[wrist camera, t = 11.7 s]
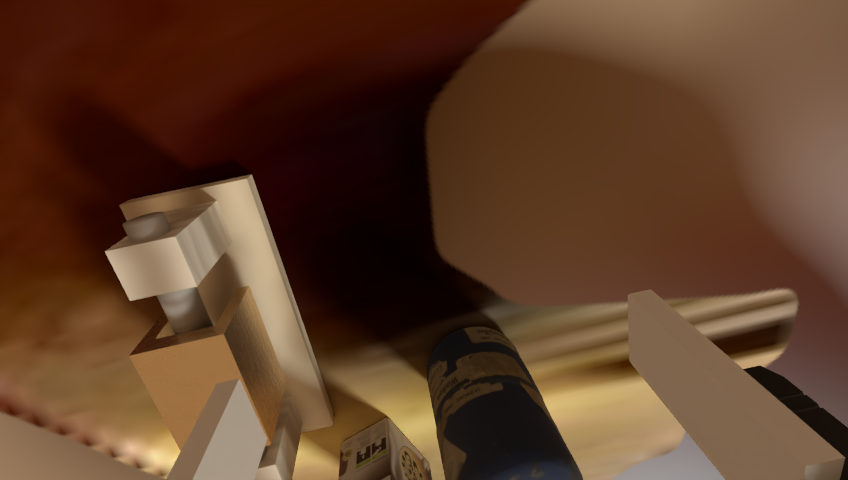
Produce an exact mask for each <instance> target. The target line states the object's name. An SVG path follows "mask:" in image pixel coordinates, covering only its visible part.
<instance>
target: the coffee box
mask: <svg viewBox="0 0 848 480" xmlns="http://www.w3.org/2000/svg"><path fill="white" fill-rule="evenodd" d="M338 480H432V477H431V470H430V464H429V463H428V462H427V460H426V459H425V458H424V457H423V456H422V455H421V454H420V452H419V451H418V450H417V449H416V448H415V447H414V446H413V445H412V444H411V443H410V441H409V440H408V439H407V438H406V437H405V436H404V435H403V434H402V432H401V431H400V430H399V429H398V428H397V427H396V426H395V425H394V424H393V422H392V421H391V420H390V419H389V418H385V419H383V420H381V421H379V422H377V423H376V424H374V425H372V426H370V427H368V428H367V429H365V430H363V431H361V432H359V433H358V434H356V435H354V436H352V437H351V438H349V439H347V440H345V441H343V442H342V444H341V454H340V468H339V479H338Z"/></svg>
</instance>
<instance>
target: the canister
mask: <svg viewBox="0 0 848 480" xmlns="http://www.w3.org/2000/svg"><path fill="white" fill-rule="evenodd" d="M427 381H428V386H429V392H430V397H431V402H432V407H433V412H434V417H435V422H436V427H437V439H438V443H439V448H440V453H441V459H442V464H443V469H444V474H445V479H446V480H583V478H582V475H581V472H580V470H579V468H578V466H577V464H576V462H575V461H574V459H573V457H572V455H571V453H570V451H569V450H568V448H567V446H566V444H565V442H564V440H563V438H562V436H561V435H560V433H559V431H558V429H557V426H556V425H555V423H554V421H553V419H552V417H551V415H550V413H549V412H548V409H547V407H546V406H545V403H544V401H543V398H542V396H541V394H540V392H539V390H538V388H537V386H536V385H535V383H534V381H533V379H532V377H531V375H530V373H529V371H528V370H527V368H526V366H525V365H524V363H523V361H522V359H521V358H520V356H519V354H518V352H517V350H516V348H515V346H514V345H513V344H512V342H511V341H510V340H509V339H508V338H507V337H506V336H504V335H503V334H501V333H500V332H498V331H496V330H493V329H490V328H487V327H482V326H481V327H468V328H463V329H460V330H457V331H455V332H453V333H451V334H449V335H448V336H446V337H445V338H444V339H443V340H442V341H440V342H439V344H438V345H437V346H436V347H435V348H434V350H433V352H432V353H431V355H430V358H429V360H428V364H427Z"/></svg>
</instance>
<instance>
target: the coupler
mask: <svg viewBox="0 0 848 480" xmlns="http://www.w3.org/2000/svg"><path fill="white" fill-rule="evenodd" d="M129 357H130V359H131V361H132V362H133V364H134V366H135V368H136V370H137V372H138V373H139V375H140V377H141V379H142V381H143V383H144V384H145V386H146V388H147V390H148V392H149V394H150V395H151V397H152V399H153V401H154V403H155V405H156V406H157V408H158V410H159V412H160V414H161V416H162V417H163V419H164V421H165V423H166V425H167V427H168V428H169V430H170V432H171V434H172V436H173V438H174V439H175V441H176V443H177V445H178V447H179V449H180V450H182V448H183V447H184V445H185V443H186V441H187V439H188V437H189V435H190V433H191V431H192V429H193V427H194V426H195V424H196V422H197V420H198V418H199V416H200V414H201V412H202V410H203V408H204V406H205V405H206V403H207V401H208V399H209V397H210V395H211V393H212V391H213V389H214V387H215V386H216V384H217V383H220V382H225V381H230V380H234V379H240V381H241V383H242V385H243V387H244V390H245V392H246V394H247V396H248V398H249V401H250V403H251V405H252V407H253V409H254V411H255V414H256V416H257V418H258V420H259V422H260V424H261V427H262V429H263V431H264V433H265V435H266V437H267V441H266V444H265V446H268V445H271V444H272V440H273V436H274V432H275V428H276V424H277V420H278V416H279V412H280V408H281V404H282V400H283V396H284V391H285V387H286V383H287V382H286V380H285V377H284V374H283V372H282V369H281V367H280V364H279V361H278V359H277V356H276V354H275V351H274V349H273V346H272V343H271V341H270V338H269V336H268V333H267V330H266V328H265V325H264V323H263V320H262V317H261V315H260V312H259V310H258V307H257V305H256V302H255V299H254V297H253V294H252V292H251V289H250V286H245V287H241V288H237V289H236V291H235V293H234V294H233V296H232V298H231V299H230V301H229V303H228V305H227V306H226V308H225V310H224V312H223V313H222V315H221V317H220V319H219V320H218V322H217V324H216V325H215V326H210V327H206V328H202V329H197V330H193V331H188V332H184V333H180V334H175V333H174V331H173V329H172V327H171V325H170V322H169V320H168V318H167V316H166V314H165V312H164V314H163V315H162V316H161V317H160V318H159V320H158V321H157V322H156V323H155V325H154V326H153V327H152V328H151V329H150V331H149V332H148V333H147V334H146V336H145V337H144V338H143V339H142V341H141V342H140V343H139V344H138V345H137V347H136V348H135V349H134V350H133V352H132V353H131V354H130V355H129Z"/></svg>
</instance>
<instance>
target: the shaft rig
mask: <svg viewBox="0 0 848 480" xmlns="http://www.w3.org/2000/svg"><path fill="white" fill-rule="evenodd" d="M119 206H120V208H121V210H122V212H123V214H124V216H125V218H126V220H127V221H126V222H125V223H123V224H122V225H123V227H124V229H125V231H126V233H127V235H128V236H126V237H125V238H123V239H122V240H121V241H119V242H118V243H116V244H115V245H113V246H112V247H110V248H109V249H108V250H106V251H105V253H106V255H107V257H108V259H109V261H110V263H111V265H112V267H113V269H114V271H115V273H116V275H117V277H118V278H119V280H120V282H121V284H122V286H123V288H124V290H125V292H126V294H127V296H128V298H129V300H130V301H132V300H137V299H142V298H146V297H151V296H157V298H158V300H159V302H160V304H161V306H162V308H163V310H164V312H165V314H166V316H167V318H168V320H169V322H170V325H171V327H172V329H173V331H174V333H175V334H180V333H184V332H188V331H193V330H197V329H202V328H206V327H210V326H215V325H216V324H217V322H218V320H219V319H220V317H221V315H222V313H223V312H224V310H225V308H226V306H227V305H228V303H229V301H230V299H231V298H232V296H233V294H234V293H235V291H236V289H237V288H241V287H245V286H250V289H251V292H252V294H253V297H254V299H255V302H256V305H257V307H258V310H259V312H260V315H261V317H262V320H263V323H264V325H265V328H266V330H267V333H268V336H269V338H270V341H271V343H272V346H273V349H274V351H275V354H276V356H277V359H278V361H279V364H280V367H281V369H282V372H283V374H284V377H285V380H286V382H287V383H286V387H285V391H284V396H283V400H282V404H281V408H280V412H279V416H278V420H277V424H276V428H275V432H274V436H273V440H272V444H271V445H268V446H265V448H264V451H263V454H262V457H261V460H260V464H259V467H258V470H257V473H256V476H255V479H254V480H292V476H293V471H294V466H295V461H296V455H297V450H298V445H299V440H300V435H301V433H304V432H308V431H313V430H317V429H321V428H326V427H330V426H333V425H334V416H335V415H334V412H333V409H332V406H331V403H330V400H329V397H328V394H327V391H326V388H325V386H324V383H323V380H322V377H321V374H320V371H319V368H318V365H317V362H316V359H315V357H314V354H313V351H312V348H311V345H310V342H309V339H308V336H307V333H306V330H305V327H304V325H303V322H302V319H301V316H300V313H299V310H298V307H297V304H296V301H295V298H294V296H293V293H292V290H291V287H290V284H289V281H288V278H287V275H286V272H285V269H284V267H283V264H282V261H281V258H280V255H279V252H278V249H277V246H276V243H275V240H274V238H273V235H272V232H271V229H270V226H269V223H268V220H267V217H266V214H265V211H264V209H263V206H262V203H261V200H260V197H259V194H258V191H257V188H256V185H255V182H254V180H253V177H252V174H251V175H246V176H241V177H236V178H232V179H227V180H222V181H217V182H212V183H208V184H203V185H198V186H193V187H188V188H184V189H179V190H174V191H169V192H164V193H160V194H155V195H150V196H145V197H140V198H135V199H131V200H128V201H126V202H124V203H122V204H121V205H119Z"/></svg>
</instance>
